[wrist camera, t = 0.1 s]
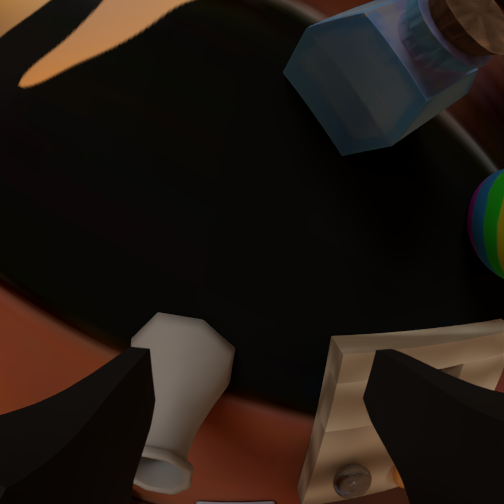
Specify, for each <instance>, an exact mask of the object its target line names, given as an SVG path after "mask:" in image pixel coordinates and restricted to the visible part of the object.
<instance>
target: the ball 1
mask: <svg viewBox="0 0 504 504" xmlns="http://www.w3.org/2000/svg"><path fill="white" fill-rule="evenodd" d="M371 482H372V477H371V473H370V471H369V470H368V469H367V468H366V467H364V466H363V465H360V464H349V465H346V466H344V467H342V468H341V469H340V470H339V471H338V472H337V473H336V474H335V476H334V478H333V488H334V491H335V492H336V493H337V494H338V495H339V496H341V497H343V498H347V499H351V498H352V499H353V498H357V497H359V496H361V495H363V494H364V493H365V492H366V491H367V490H368V489H369V487H370V485H371Z"/></svg>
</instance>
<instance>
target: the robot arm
mask: <svg viewBox="0 0 504 504" xmlns="http://www.w3.org/2000/svg"><path fill="white" fill-rule="evenodd" d="M155 401H156V399H155V391H154V382H153V374H152V364H151V354H150V348H139V347H130V348H128V349H127V350H125V351H124V352H122V353H121V354H119V355H118V356H116V357H115V358H114V359H112V360H111V361H109V362H108V363H107V364H105V365H104V366H102V367H101V368H99V369H98V370H96V371H95V372H93V373H92V374H90V375H89V376H87V377H86V378H84V379H82V380H81V381H79V382H77V383H76V384H74V385H72V386H71V387H69V388H67V389H65V390H64V391H62V392H60V393H58V394H56V395H54V396H52V397H49V398H47V399H45V400H43V401H41V402H38V403H36V404H33V405H30V406H27V407H24V408H21V409H18V410H15V411H12V412H9V413H6V414H2V415H0V504H129V503H130V496H131V490H132V486H133V482H134V478H135V475H136V472H137V469H138V465H139V462H140V459H141V456H142V453H143V450H144V447H145V444H146V440H147V437H148V434H149V431H150V428H151V424H152V418H153V413H154V407H155ZM363 401H364V404H365V407H366V410H367V412H368V415H369V418H370V420H371V422H372V424H373V426H374V428H375V430H376V432H377V434H378V436H379V437H380V439H381V441H382V443H383V445H384V446H385V448H386V450H387V452H388V454H389V456H390V457H391V459H392V461H393V463H394V465H395V466H396V468H397V471H398V473H399V475H400V477H401V479H402V482H403V485H404V488H405V490H406V493H407V496H408V498H409V502H410V504H504V393H502V392H498V391H494V390H490V389H487V388H484V387H480V386H477V385H474V384H472V383H469V382H466V381H464V380H461V379H459V378H456V377H454V376H452V375H449V374H447V373H445V372H443V371H441V370H438V369H436V368H434V367H432V366H430V365H428V364H426V363H424V362H422V361H420V360H417V359H415V358H413V357H411V356H409V355H407V354H404V353H402V352H400V351H397V350H394V349H382V350H376V352H375V356H374V360H373V364H372V368H371V371H370V375H369V379H368V382H367V385H366V389H365V392H364V396H363ZM196 504H275V502H273V501H264V502H203V501H199V502H196Z"/></svg>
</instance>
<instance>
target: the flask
mask: <svg viewBox="0 0 504 504" xmlns="http://www.w3.org/2000/svg"><path fill="white" fill-rule="evenodd" d="M131 347H139V348H150V354H151V364H152V374H153V382H154V391H155V399H156V401H155V407H154V413H153V418H152V424H151V428H150V431H149V434H148V437H147V440H146V444H145V447H144V450H143V453H142V456H141V459H140V462H139V465H138V469H137V472H136V475H135V478H134V482H133V483H134V484H136V485H138V486H139V487H141V488H143V489H145V490H147V491H152V492H158V493H163V494H169V495H175V494H177V493H179V492H182V491H184V490H186V489H188V488H190V487H191V482H192V471H193V467H192V464H191V463H190V462H188V461H187V460H188V453H189V451H190V448H191V445H192V443H193V440H194V437H195V435H196V432H197V430H198V429H199V427H200V426H201V424H202V423H203V421H204V420H205V418H206V417H207V415H208V413H209V412H210V410H211V409H212V407H213V406H214V404H215V403H216V402H217V400H218V399H219V398H220V396H221V395H222V393H223V392H224V391H225V389H226V388H227V386H228V384H229V383H230V377H231V372H232V366H233V360H234V354H235V349H236V348H235V347H234V346H233V345H231V344H230V343H229V342H228V341H227V340H226V339H224V338H223V337H222V336H221V335H220V334H219V333H218V332H216V331H215V330H214V329H213V328H212V327H211V326H210V325H209V324H207V323H206V322H205V321H204V320H203V319H196V318H189V317H183V316H177V315H171V314H165V313H159V312H158V313H157V314H156V315H155V316H154V317H153V318H152V319H151V320H150V321H149V322H148V323H147V324H146V325H145V326H144V327H143V328H142V329H141V330H140V331H139V332H138V333H137V334H136V335H135V336H134V337H133V338H132V339H131Z"/></svg>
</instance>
